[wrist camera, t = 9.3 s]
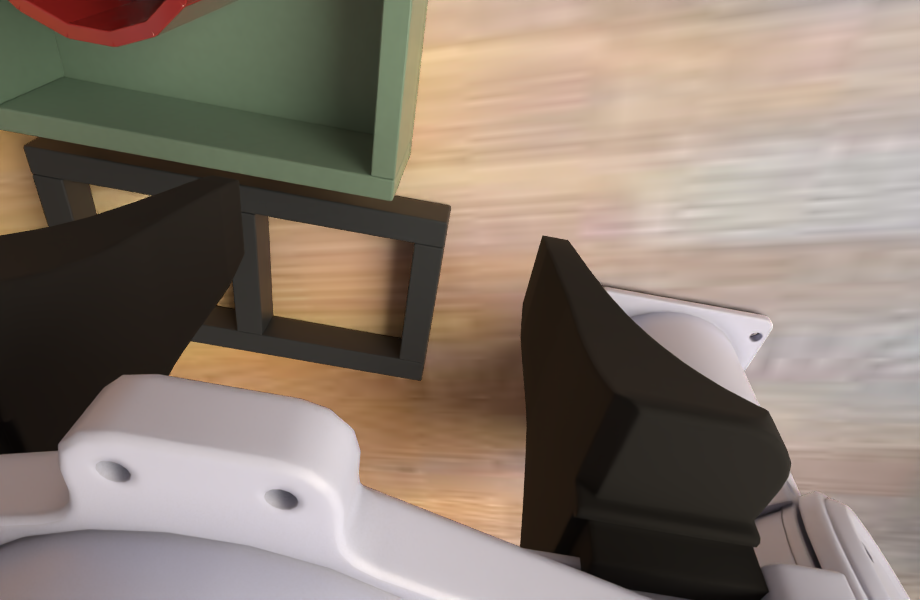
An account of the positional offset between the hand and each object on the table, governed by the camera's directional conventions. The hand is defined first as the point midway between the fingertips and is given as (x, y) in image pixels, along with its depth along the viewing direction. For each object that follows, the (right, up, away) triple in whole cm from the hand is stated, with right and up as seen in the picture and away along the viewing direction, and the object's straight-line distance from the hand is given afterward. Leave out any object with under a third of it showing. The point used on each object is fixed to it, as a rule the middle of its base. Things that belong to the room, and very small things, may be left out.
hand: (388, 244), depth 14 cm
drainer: (-7, +1, +12) cm, 14 cm away
